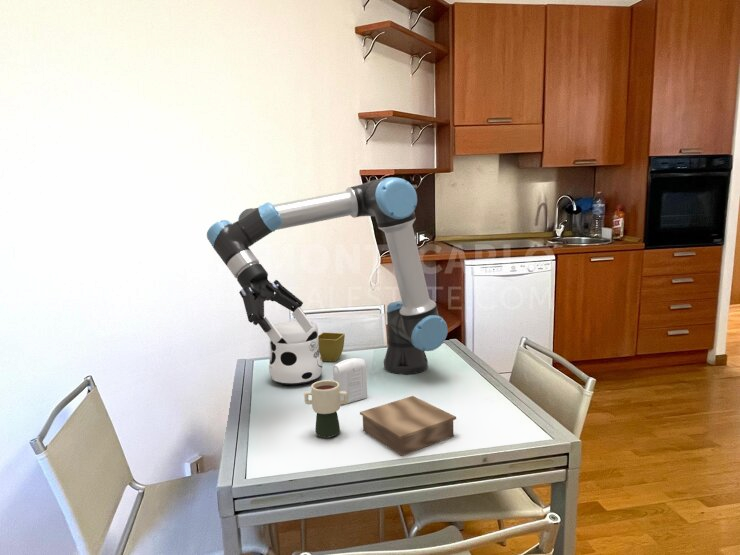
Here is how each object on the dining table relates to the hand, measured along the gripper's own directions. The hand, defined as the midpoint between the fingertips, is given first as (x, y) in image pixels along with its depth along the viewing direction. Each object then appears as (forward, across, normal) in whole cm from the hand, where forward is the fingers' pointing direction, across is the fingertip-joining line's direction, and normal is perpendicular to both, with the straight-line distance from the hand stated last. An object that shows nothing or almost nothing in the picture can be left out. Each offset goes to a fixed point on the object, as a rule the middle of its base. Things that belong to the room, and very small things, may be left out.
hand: (294, 335), depth 132 cm
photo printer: (+20, -21, -13) cm, 32 cm away
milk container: (+3, -30, -31) cm, 43 cm away
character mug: (+24, 0, -10) cm, 26 cm away
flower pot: (+2, -52, -31) cm, 60 cm away
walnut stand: (+36, -8, +4) cm, 37 cm away
